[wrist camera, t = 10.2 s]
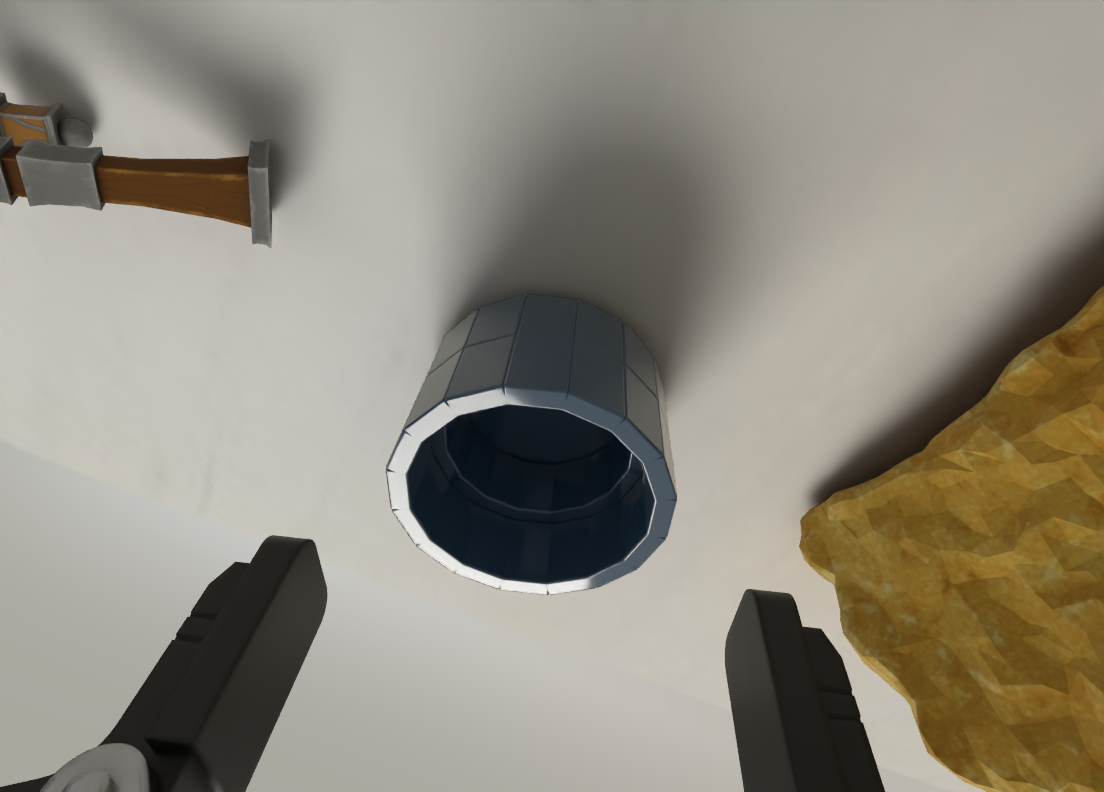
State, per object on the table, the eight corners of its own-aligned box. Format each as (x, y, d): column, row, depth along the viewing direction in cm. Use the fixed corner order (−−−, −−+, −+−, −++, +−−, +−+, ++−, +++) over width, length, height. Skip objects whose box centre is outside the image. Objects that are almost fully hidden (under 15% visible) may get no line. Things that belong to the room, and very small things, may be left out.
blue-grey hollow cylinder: (440, 462, 19) (399, 580, 15) (428, 274, 15) (371, 371, 12) (642, 482, 19) (649, 606, 15) (681, 297, 15) (702, 404, 11)
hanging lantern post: (-165, 40, 12) (-322, 104, 9) (270, 107, 15) (268, 171, 12) (-127, 132, 13) (-256, 218, 10) (273, 176, 16) (271, 252, 13)
